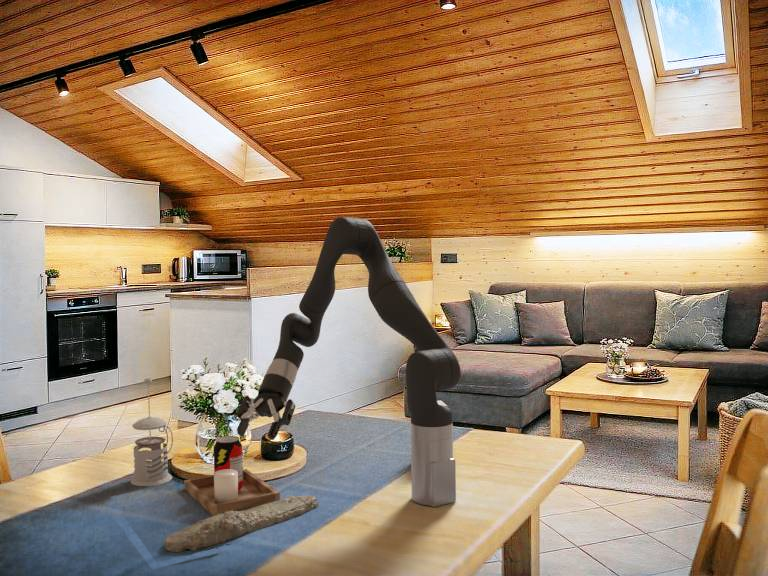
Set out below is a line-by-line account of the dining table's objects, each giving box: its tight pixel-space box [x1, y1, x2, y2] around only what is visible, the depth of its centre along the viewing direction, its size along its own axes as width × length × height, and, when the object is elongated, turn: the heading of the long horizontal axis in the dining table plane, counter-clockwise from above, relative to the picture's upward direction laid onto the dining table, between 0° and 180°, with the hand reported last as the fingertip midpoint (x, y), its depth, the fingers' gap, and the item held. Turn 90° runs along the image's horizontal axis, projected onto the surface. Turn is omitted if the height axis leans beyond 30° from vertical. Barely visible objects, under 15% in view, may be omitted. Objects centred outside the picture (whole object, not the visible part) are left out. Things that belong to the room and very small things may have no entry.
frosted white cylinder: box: [213, 469, 238, 504], centre depth 158 cm, size 5×5×7 cm
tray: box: [183, 468, 281, 517], centre depth 164 cm, size 20×15×3 cm
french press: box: [130, 377, 174, 487], centre depth 179 cm, size 10×12×25 cm
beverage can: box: [213, 435, 244, 491], centre depth 167 cm, size 6×6×12 cm
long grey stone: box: [164, 494, 319, 553], centre depth 147 cm, size 35×5×10 cm
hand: (255, 436), depth 177 cm, fingers open, 8 cm apart
